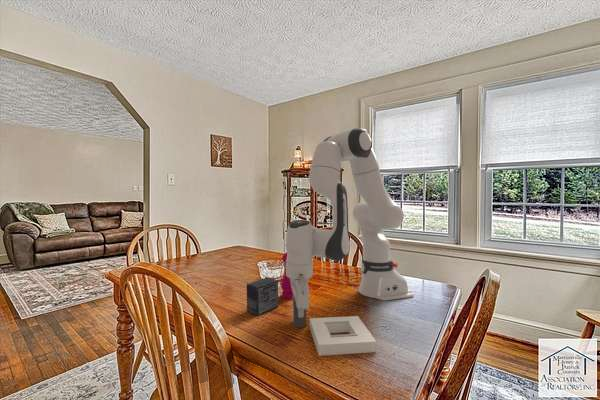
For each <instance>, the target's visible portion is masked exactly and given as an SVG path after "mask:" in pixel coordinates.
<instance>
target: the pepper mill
mask: <svg viewBox="0 0 600 400" xmlns="http://www.w3.org/2000/svg"><path fill="white" fill-rule="evenodd" d="M286 258H287V251H286V252H285V253H283V255H282V258H281V259H282V262H283V269H284V275H283V278H282V280H281V283H280V289H281V290H282V291H281V297H282V298H283V299H285V300H286V299H288V300H290V299H291V300H293V291H292V288H291V282H290V278H288V277H287V276H286Z"/></svg>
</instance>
